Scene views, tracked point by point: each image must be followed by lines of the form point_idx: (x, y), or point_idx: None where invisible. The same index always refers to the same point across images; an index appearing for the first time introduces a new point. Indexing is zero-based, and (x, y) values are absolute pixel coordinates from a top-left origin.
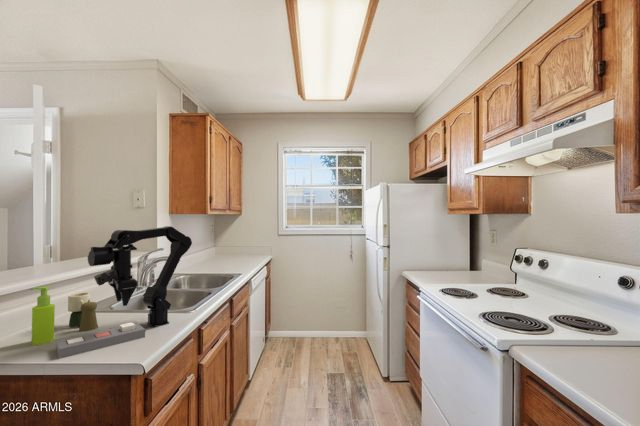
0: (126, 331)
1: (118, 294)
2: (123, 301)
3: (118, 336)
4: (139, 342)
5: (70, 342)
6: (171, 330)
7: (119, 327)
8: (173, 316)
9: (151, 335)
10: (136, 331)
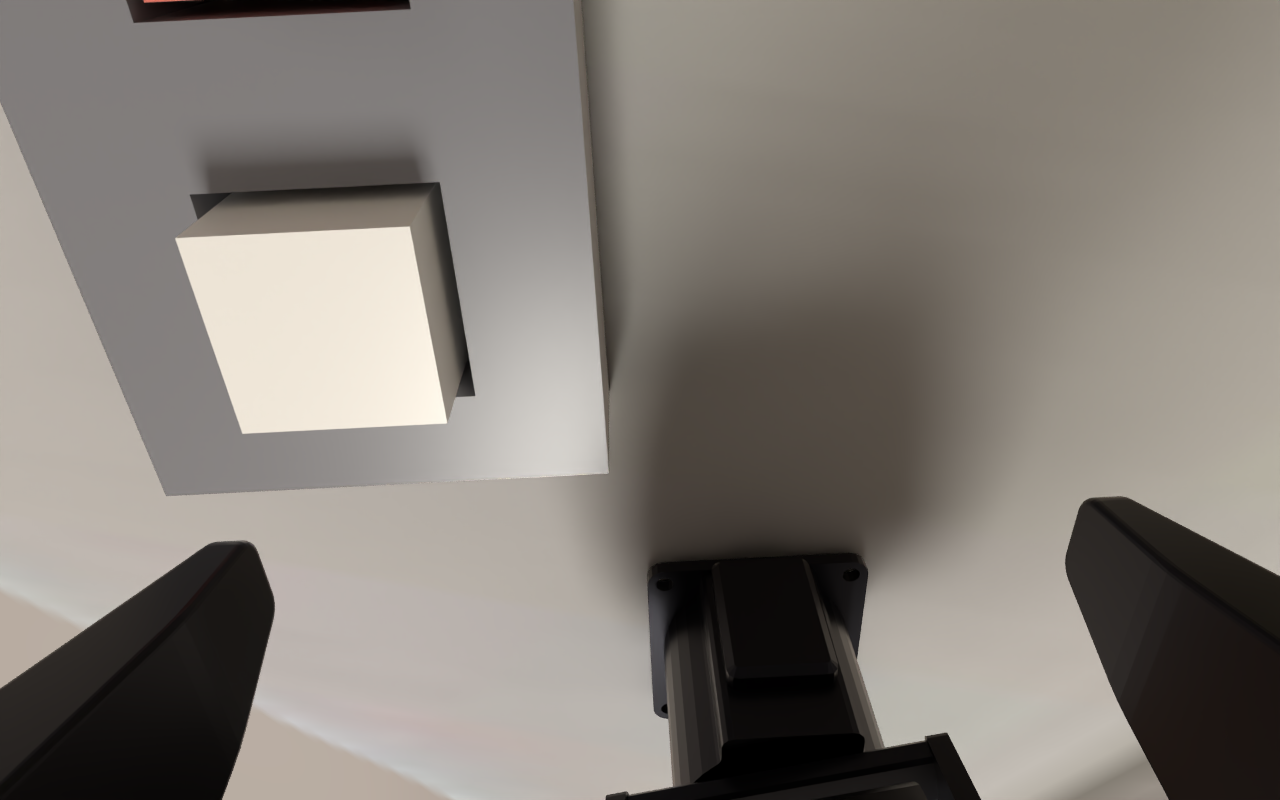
0: None
1: (1239, 723)
2: (65, 665)
3: (19, 110)
4: None
5: None
6: (373, 669)
7: (532, 211)
8: None
9: (321, 491)
10: (125, 386)
